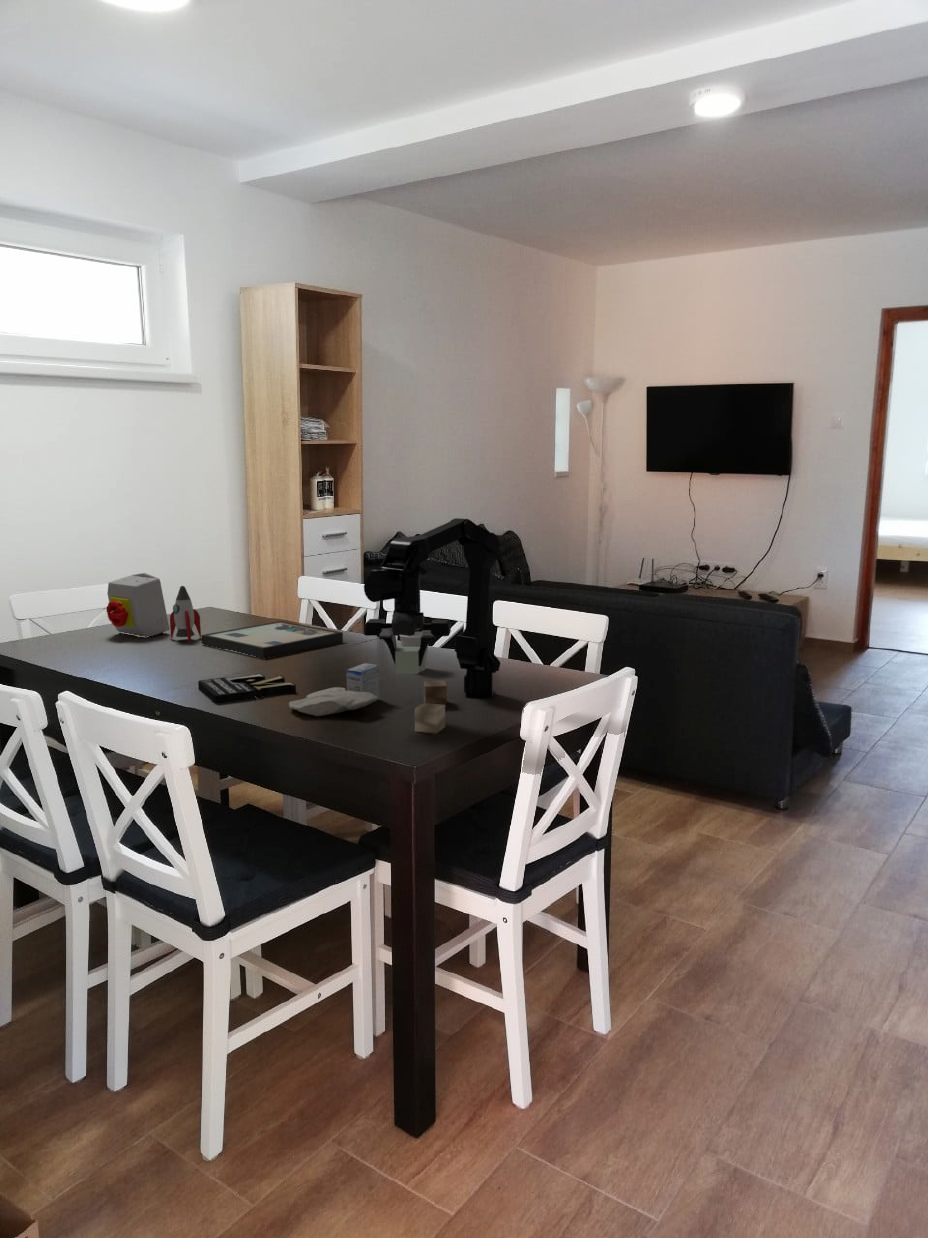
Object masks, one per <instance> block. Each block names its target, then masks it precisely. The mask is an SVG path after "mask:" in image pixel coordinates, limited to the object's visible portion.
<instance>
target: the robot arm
mask: <svg viewBox="0 0 928 1238" xmlns="http://www.w3.org/2000/svg"><path fill="white" fill-rule="evenodd" d="M454 542H456V543H457V544H458V545H460V546H461V547H462V548H463V557H464V560H465V561H466V564H467V566H468V568H469V569H468V571H469V572H468V585H467V588H468V589H467V602H466V613H465V614H466V616H465V628H464V630H463V631H462V633H461V635H459V634H458V635H456V636H455V637H456V638H455V642H456V643H455V648H454V652H455V653H456V658H457V660H458V663H459V667H460V669H461V670H462V669H463V670H466V672H465V674H464V676H463V693H464V694H465V697H466V698H493V696H494V688H493V687H494V686H493V685H494V684H493V683H494V678H493V677H494V674H495V673H496V672H498V671H500V667H501V661H500V660H499V658H498V657H497V656H496V655H495V653H494V652H493V642H492V639H491V637H490V635H489V633H488V631H487V622H488V621H487V620H488V607H489V595H490V593H489V592H490V577H491V575H490V574H491V569H492V568H493V566H494V565H495V563H496V561H497V560H498V557H499V551H500V545H501V544H500V542H501V541H500V539H499V538H498V536H497V534H495V532H490V531H489V530H488V529H485V528H484V527H481V526H480V525H477V524H476V523H475V522H473V521H472V520H470V519H468V518H458V517H457V518H453V519H451V520H450V521H448V522H446V523H444V524H441V525H439V526H437V527H435V528H433V529H431V530H428V531H426V532H424V533H422V534H419V535H414V536H404V537H399V538H396V539H393V540H392V541H391V542H390V544H389V548H388V550H387V552H386V554H385V556H384V558H383V560H382V562H381V564H380V566H379V569H371V570H370V573H369V574H370V575H369V576H368V577H367V578H366V580H365V581H364V585H363V592H364V596H365V597H366V598H367V600H368V601H370V602H372V603H378V602H383V601H388V600H389V601H390V600H394V602H393V603H394V605H393V606H394V609H393V611H392V612H393V613H392V619H391V622H386V619H385V618H369V619H368V620H367V621H366V623H365V624H364V625H363V635H364V636H367V637H368V636H370V637H371V636H373V637H377V636H378V639H379V640H382V641H384V643H385V644H386V646H387V647H388V650H389V653H390V655H391V658H392V661H393V664H394V665H395V651H396V650H397V648H398V647H397V644H398V643H397V637H398V636H399V635H407V636H412V635H414V634H415V632H422V633H423V635H422V636H421V645H420V654H419V666H421V664H422V661H423V658H424V655H425V651H426V648H427V646H428V647H429V643H430V641H434V640H435V639H436V637H449V636H450V633H451V632H452V630H451V626H452V623H451V621H450V620H449V619H437V618H436V619H432V621H431V623H430V622H429V623H428V622H427V623H425V615H424V612H421V576H422V575H426V574H428V571H427V570H426V569H425V568H423V566H421V565H422V564H423V563H424V562H425V561H427V560H428V559H429V557H430V555H431V554H432V553H433V552H436V551H437V550H439V549H441V548H443V547H445V546H448V545H449V544H452V543H454ZM396 636H397V637H396ZM399 637H400V636H399Z"/></svg>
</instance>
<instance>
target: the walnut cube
mask: <svg viewBox="0 0 928 1238" xmlns="http://www.w3.org/2000/svg"><path fill="white" fill-rule="evenodd" d="M447 691H448V687H447V684H446V681H445V680H431V681H430V680H425V681H423V703H429V704H440V705H445V707H448V699H447V698H448V692H447Z"/></svg>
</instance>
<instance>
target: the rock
mask: <svg viewBox="0 0 928 1238" xmlns="http://www.w3.org/2000/svg"><path fill="white" fill-rule="evenodd" d="M377 699H378V697H377V696H375V695H373V694H371V693H369V692H354V691H347V688H345V687H330V688H329V687H328V688H326V689H321V690H318V691H314V692H311V693H309V694H307V695H306V696H305V698H301V699H296V700H291V701H289V702H288V707H289V709H291V710H295V711H298V712H299V713H303V714H305V715H309V716H315V717H322V716H326V715H327V716H328V715H331V714H332V715H333V714H335V713H337V714H340V713H343V712H347V711H353V710H354V711H355V710H357V709H358V710H359V709H360V708H364V707H366V706H368V705H370V704H372V703H375V702H377V701H378V700H377ZM376 700H377V701H376ZM365 705H366V706H365ZM363 706H364V707H363ZM335 715H336V714H335Z"/></svg>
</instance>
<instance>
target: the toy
mask: <svg viewBox="0 0 928 1238" xmlns="http://www.w3.org/2000/svg"><path fill="white" fill-rule="evenodd" d="M174 603H175V604H173V606H172V612H171V614H170V616H169V630H170V639H171V638H172V639H173V637H174V632H175V630H176V629H177V631H176V634H175V637H176V638H187V640H188V641H187V642H188V644H189V643H190V642H191V643H192V637H194V636H195V635H196V634H195V633H194V631H193V627H194V626H195V628H196V631H197V633H198V635H199V638H200V637H201V638H202V636H201V635H202V628H201V616H200V613H199V611H197V610H196V609H194V605H193V601H192V599H191V597H190V595H189V592H188V591H187V589H186V587H185V585H181V586H180V587H179V590H178V593H177V596H176V598H175V602H174Z"/></svg>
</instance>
